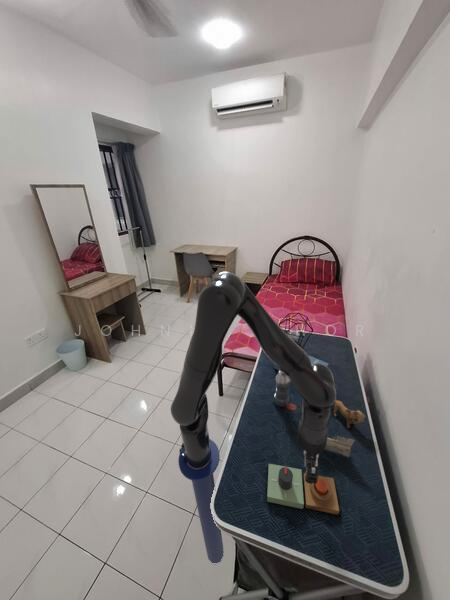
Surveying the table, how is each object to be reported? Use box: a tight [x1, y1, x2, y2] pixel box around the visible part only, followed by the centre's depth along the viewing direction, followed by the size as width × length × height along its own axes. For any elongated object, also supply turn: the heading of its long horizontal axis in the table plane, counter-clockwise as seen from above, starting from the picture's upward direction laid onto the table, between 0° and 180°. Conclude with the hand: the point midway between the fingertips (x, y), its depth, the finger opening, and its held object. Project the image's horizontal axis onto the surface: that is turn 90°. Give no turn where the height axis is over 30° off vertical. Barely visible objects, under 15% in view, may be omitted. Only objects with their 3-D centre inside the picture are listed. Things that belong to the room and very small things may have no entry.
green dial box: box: [266, 463, 305, 510], centre depth 79 cm, size 11×10×3 cm
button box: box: [302, 472, 340, 516], centre depth 76 cm, size 10×9×4 cm
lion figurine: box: [330, 399, 366, 429], centre depth 99 cm, size 15×5×9 cm, turn 35°
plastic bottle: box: [273, 369, 292, 408], centre depth 105 cm, size 6×7×20 cm
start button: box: [315, 479, 328, 495], centre depth 75 cm, size 4×4×2 cm
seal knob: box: [278, 466, 293, 490], centre depth 77 cm, size 4×4×5 cm
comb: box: [324, 435, 356, 458], centre depth 87 cm, size 15×2×10 cm, turn 70°
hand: (307, 465), depth 72 cm, fingers open, 8 cm apart
